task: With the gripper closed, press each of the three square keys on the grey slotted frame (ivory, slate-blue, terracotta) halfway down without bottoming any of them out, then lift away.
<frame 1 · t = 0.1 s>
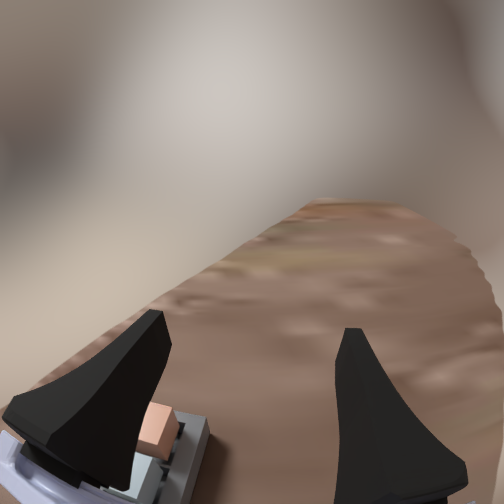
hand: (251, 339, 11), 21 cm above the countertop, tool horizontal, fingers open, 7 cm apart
grey slotted frame: (146, 492, 19), on the countertop
key terracotta: (148, 429, 22), point 5 cm above the countertop, slide at 0.0 cm
key slate: (128, 476, 17), point 5 cm above the countertop, slide at 0.0 cm
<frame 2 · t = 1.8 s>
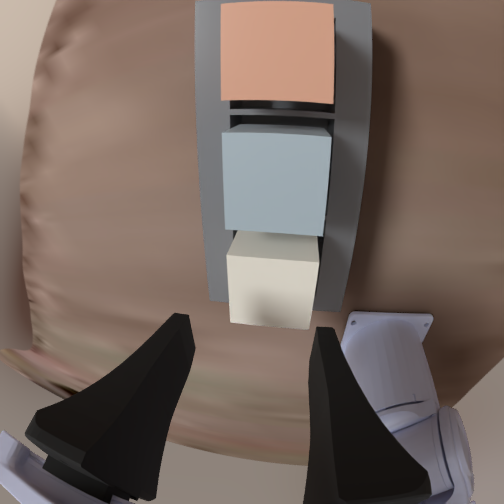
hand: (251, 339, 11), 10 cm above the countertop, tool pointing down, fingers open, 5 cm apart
grey slotted frame: (284, 153, 17), on the countertop
key ivory: (274, 274, 16), point 5 cm above the countertop, slide at 0.0 cm
key terracotta: (280, 55, 10), point 5 cm above the countertop, slide at 0.0 cm
key slate: (278, 173, 13), point 5 cm above the countertop, slide at 0.0 cm
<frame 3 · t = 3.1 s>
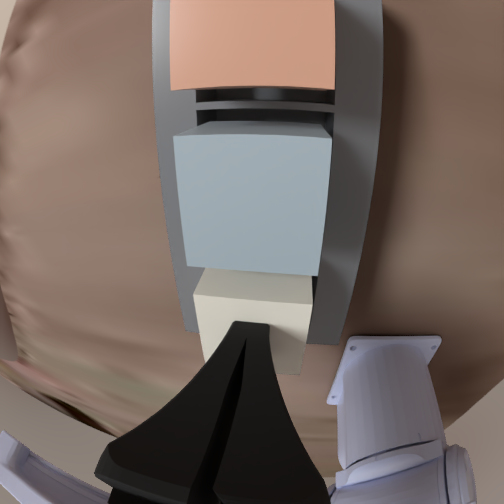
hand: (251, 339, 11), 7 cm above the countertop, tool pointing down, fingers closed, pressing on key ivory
grey slotted frame: (270, 155, 14), on the countertop
key ivory: (257, 309, 13), point 5 cm above the countertop, slide at 0.1 cm, touching gripper
key terracotta: (258, 26, 7), point 5 cm above the countertop, slide at 0.0 cm
key slate: (258, 188, 10), point 5 cm above the countertop, slide at 0.0 cm
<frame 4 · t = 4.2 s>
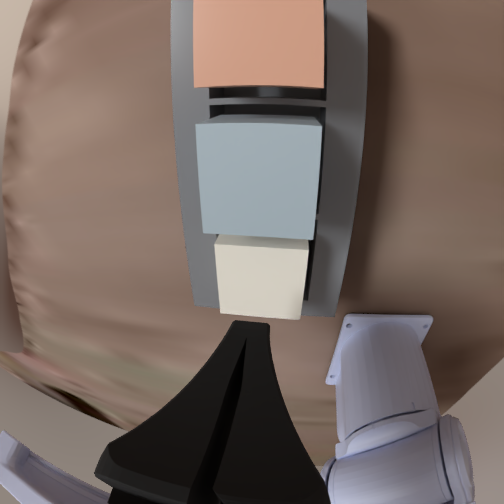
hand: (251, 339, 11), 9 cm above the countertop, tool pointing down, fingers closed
grey slotted frame: (271, 146, 16), on the countertop
key ivory: (264, 263, 16), point 4 cm above the countertop, slide at 1.4 cm
key terracotta: (262, 36, 9), point 5 cm above the countertop, slide at 0.0 cm
key slate: (262, 169, 12), point 5 cm above the countertop, slide at 0.0 cm
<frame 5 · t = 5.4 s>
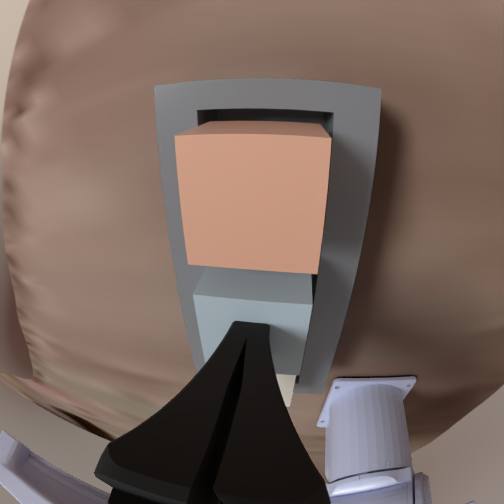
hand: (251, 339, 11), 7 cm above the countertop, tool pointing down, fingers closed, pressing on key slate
grey slotted frame: (268, 250, 17), on the countertop
key ivory: (259, 361, 17), point 4 cm above the countertop, slide at 1.4 cm
key terracotta: (258, 187, 10), point 5 cm above the countertop, slide at 0.0 cm
key slate: (257, 309, 13), point 5 cm above the countertop, slide at 0.0 cm, touching gripper
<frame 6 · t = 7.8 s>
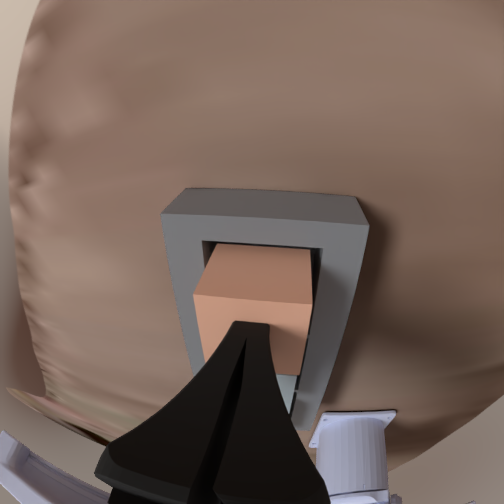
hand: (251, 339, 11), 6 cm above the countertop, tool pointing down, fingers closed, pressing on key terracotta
grey slotted frame: (265, 324, 19), on the countertop
key terracotta: (257, 309, 13), point 5 cm above the countertop, slide at 0.6 cm, touching gripper
key slate: (258, 368, 16), point 4 cm above the countertop, slide at 1.4 cm
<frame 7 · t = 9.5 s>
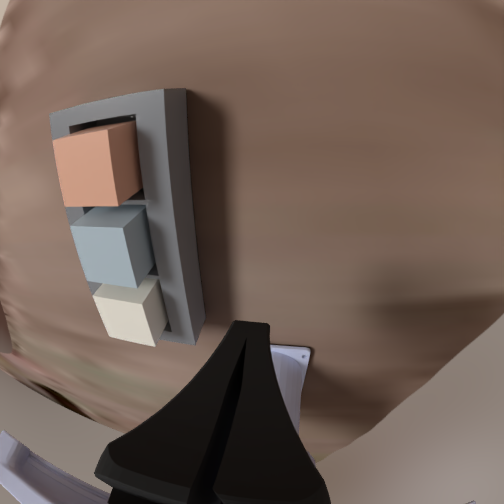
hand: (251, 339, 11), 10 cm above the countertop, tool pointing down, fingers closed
grey slotted frame: (140, 218, 21), on the countertop
key ivory: (134, 305, 21), point 4 cm above the countertop, slide at 1.4 cm
key terracotta: (101, 162, 15), point 4 cm above the countertop, slide at 1.4 cm
key slate: (116, 242, 18), point 4 cm above the countertop, slide at 1.4 cm
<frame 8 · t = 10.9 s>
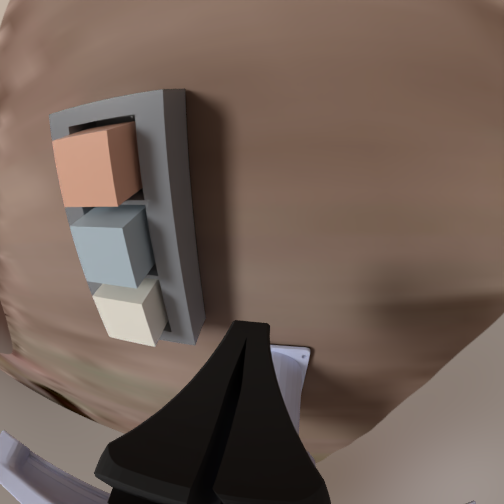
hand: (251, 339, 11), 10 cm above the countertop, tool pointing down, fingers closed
grey slotted frame: (140, 219, 21), on the countertop
key ivory: (133, 306, 21), point 4 cm above the countertop, slide at 1.4 cm
key terracotta: (100, 162, 15), point 4 cm above the countertop, slide at 1.4 cm
key slate: (116, 242, 18), point 4 cm above the countertop, slide at 1.4 cm
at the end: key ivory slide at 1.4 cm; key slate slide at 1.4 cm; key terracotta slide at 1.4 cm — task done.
